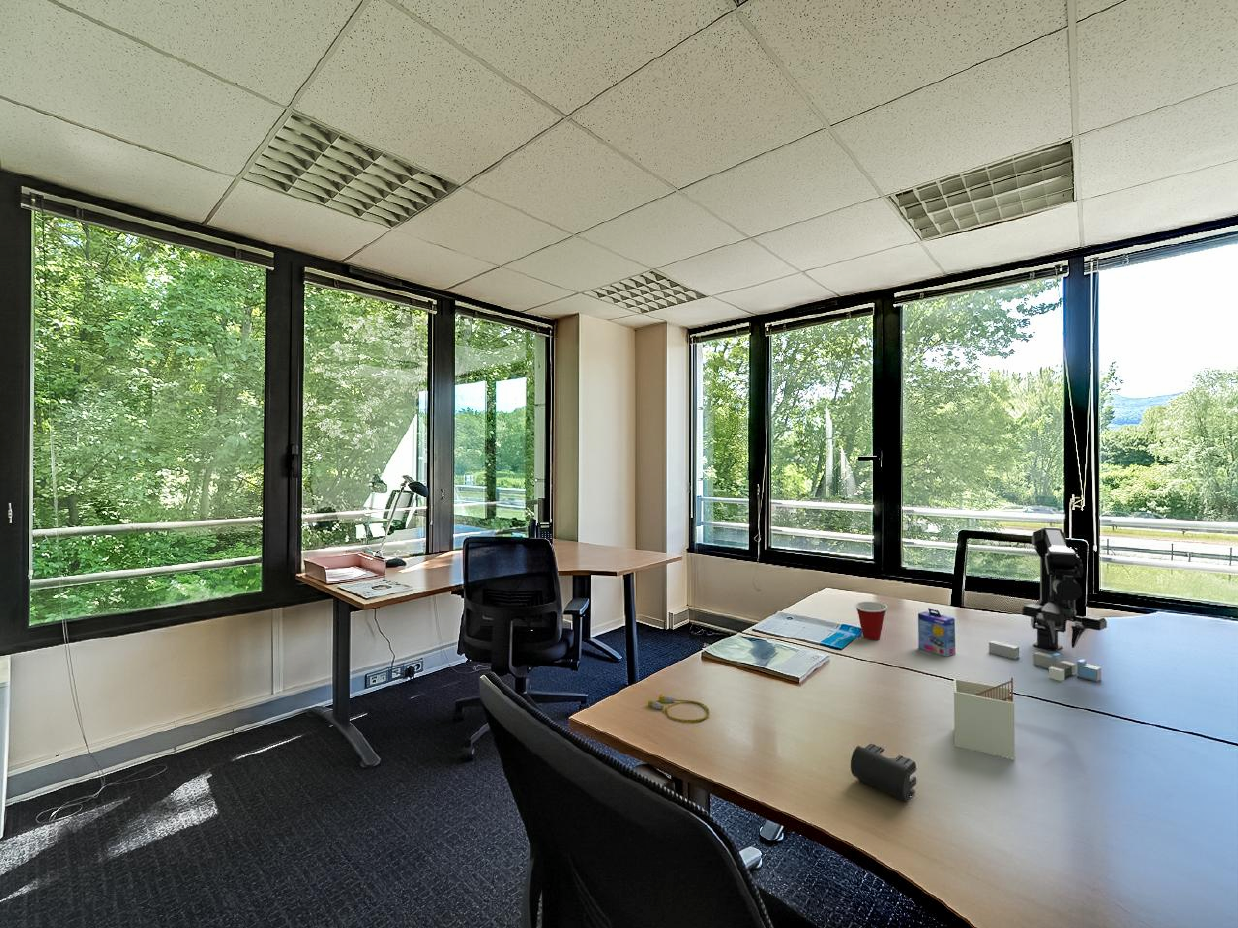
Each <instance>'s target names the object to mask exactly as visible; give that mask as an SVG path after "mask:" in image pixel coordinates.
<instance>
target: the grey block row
mask: <svg viewBox="0 0 1238 928" xmlns="http://www.w3.org/2000/svg"><path fill="white" fill-rule="evenodd" d="M988 653H989V654H994V655H998V656H1001V657H1005V658H1009V659H1012V660H1017V659H1019V658H1020V646H1019V645H1018V646H1016V645H1015V644H1014V645H1013V644H1010V643H1006V642H1002V641H997V640H990V641H988ZM1032 657H1033V658H1032V659H1033V661H1032V662H1033V663H1032V665H1035V666H1038V667H1041V668H1046V669H1048V670H1049V667H1051V666H1053V667H1055V666H1057V665H1060V664H1061V663H1060V662H1062V655H1061V653H1058V652H1055V653H1052V654H1049V653H1045V652H1042V651H1041V652H1040V651H1035V652H1033V653H1032ZM1076 664H1077V665H1076V668H1077V669H1076V670H1077V671H1076V674H1077V675H1076V676H1077V677H1079V678H1082V679H1086V680H1090V681H1093V682H1096V683H1097V682H1099V681H1101V680H1102V667H1100V666H1096V665H1093V664H1090V663H1087V660H1086V659H1082V658H1081V659H1079V660H1077V661H1076Z"/></svg>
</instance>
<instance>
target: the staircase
mask: <svg viewBox="0 0 1238 928" xmlns="http://www.w3.org/2000/svg"><path fill="white" fill-rule="evenodd" d="M953 719H954V720H953V721H954V723H953V728H954V729H953V730H954V747H958V748H963V749H965V750H966V749H967V750H970V751H974V750H975V751H974V752H979V751H980V753H983V752H984V753H983V754H987V753H989V754H988V755H991V754H994V755H993V756H996V755H999V756H998V757H1000V756H1004V757H1008V758H1007V759H1009V758H1013V759H1015V760H1016V751H1015V749H1016V748H1015V746H1016V744H1015V737H1016V735H1015V728H1016V727H1015V702H1014V678H1013V677H1010V680H1009V681H1006V682H1004V683H1001V684H999V685H992V684H985V683H981V682H974V681H971V680H964V679H963V680H962V679H958V678H953ZM1004 757H1003V758H1004ZM1013 759H1012V760H1013Z"/></svg>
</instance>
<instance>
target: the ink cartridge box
mask: <svg viewBox="0 0 1238 928" xmlns="http://www.w3.org/2000/svg"><path fill="white" fill-rule="evenodd" d="M927 610H928V611H927ZM927 610H926V611H922V612H918V613H917V630H918V631H917V634H918V635H917V636H918V639H917V641H918V649H921V650H924V651H927V652H931V653H934V654H937V655H939V656H943V657H949V656H953V655H956V627H955V626H956V621H955V619H956V618H954V617H952V616H949V615H944V614H942V613H941V612H940V611H939V610H938V609H934V608H930V607H929V608H927Z"/></svg>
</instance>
